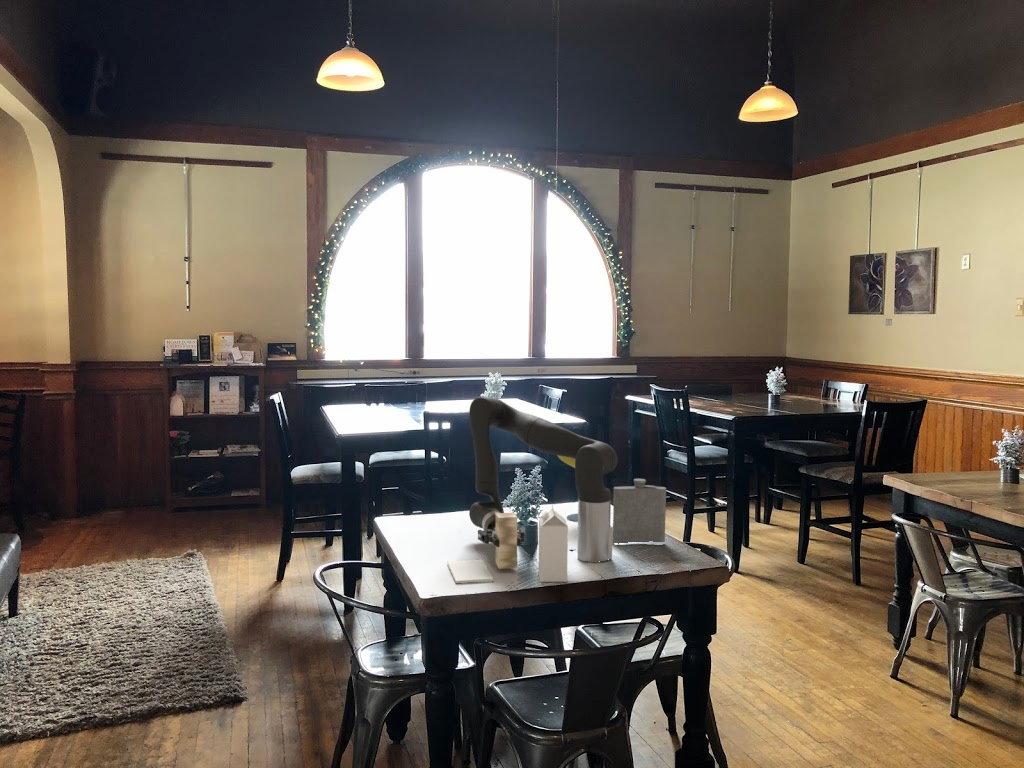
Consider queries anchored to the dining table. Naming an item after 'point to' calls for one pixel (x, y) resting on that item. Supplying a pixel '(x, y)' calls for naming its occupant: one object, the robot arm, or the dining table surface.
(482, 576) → the white board
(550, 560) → the milk carton
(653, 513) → the hip flask
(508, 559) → the birch block
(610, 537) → the robot arm
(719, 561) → the dining table surface
